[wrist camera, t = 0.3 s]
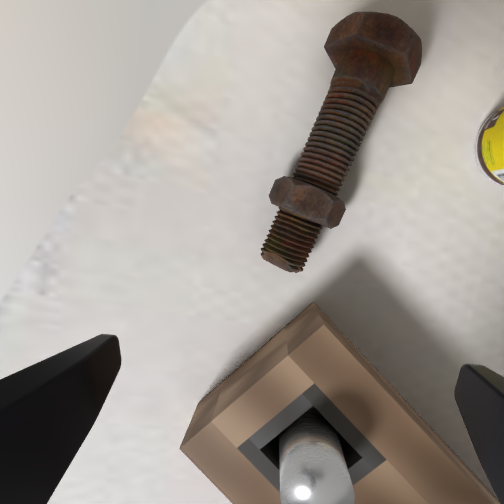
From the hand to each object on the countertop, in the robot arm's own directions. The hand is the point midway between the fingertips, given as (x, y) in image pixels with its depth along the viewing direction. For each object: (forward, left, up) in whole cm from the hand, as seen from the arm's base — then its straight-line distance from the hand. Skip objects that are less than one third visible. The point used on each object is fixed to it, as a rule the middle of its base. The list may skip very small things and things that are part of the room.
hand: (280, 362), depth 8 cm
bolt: (+7, +4, -16) cm, 18 cm away
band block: (-6, -15, -15) cm, 22 cm away
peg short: (-6, -9, -12) cm, 16 cm away
